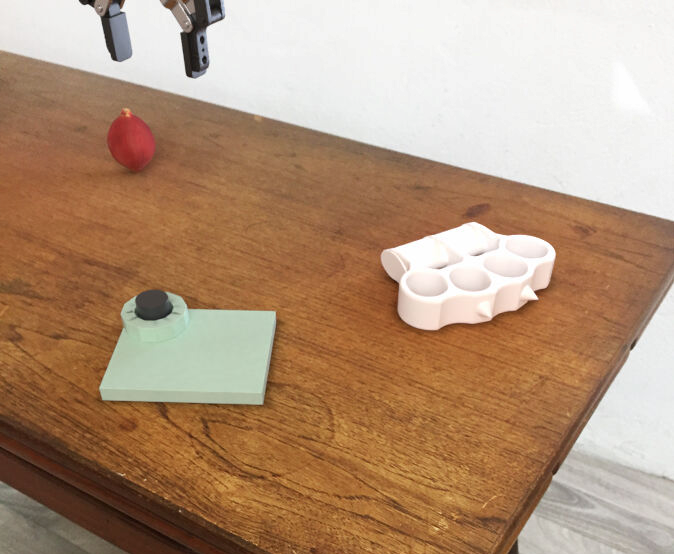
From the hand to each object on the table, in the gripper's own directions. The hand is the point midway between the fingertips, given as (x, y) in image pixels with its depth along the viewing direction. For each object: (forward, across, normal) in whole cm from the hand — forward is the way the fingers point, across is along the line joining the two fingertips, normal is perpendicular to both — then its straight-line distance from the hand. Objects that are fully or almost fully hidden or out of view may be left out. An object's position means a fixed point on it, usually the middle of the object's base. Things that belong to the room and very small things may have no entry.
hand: (159, 67), depth 68 cm
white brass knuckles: (+20, +29, +9) cm, 36 cm away
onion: (+19, -18, +13) cm, 30 cm away
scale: (+19, +11, -14) cm, 27 cm away
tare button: (+17, +6, -13) cm, 22 cm away
